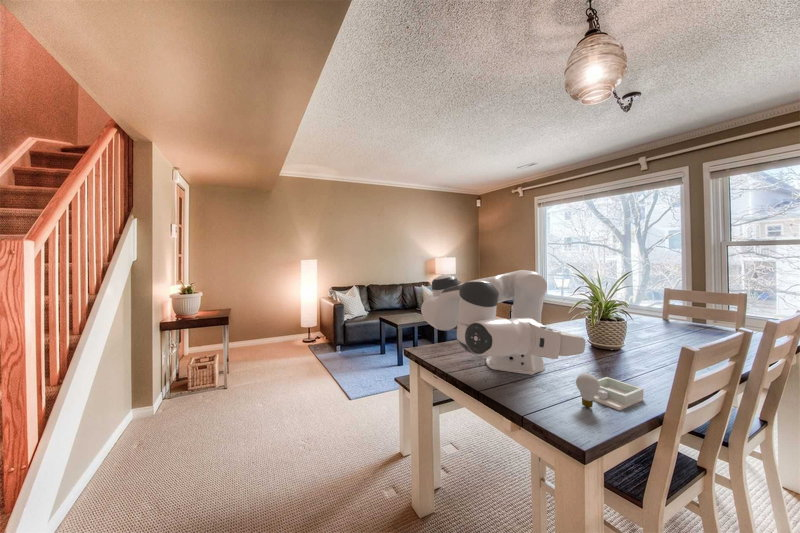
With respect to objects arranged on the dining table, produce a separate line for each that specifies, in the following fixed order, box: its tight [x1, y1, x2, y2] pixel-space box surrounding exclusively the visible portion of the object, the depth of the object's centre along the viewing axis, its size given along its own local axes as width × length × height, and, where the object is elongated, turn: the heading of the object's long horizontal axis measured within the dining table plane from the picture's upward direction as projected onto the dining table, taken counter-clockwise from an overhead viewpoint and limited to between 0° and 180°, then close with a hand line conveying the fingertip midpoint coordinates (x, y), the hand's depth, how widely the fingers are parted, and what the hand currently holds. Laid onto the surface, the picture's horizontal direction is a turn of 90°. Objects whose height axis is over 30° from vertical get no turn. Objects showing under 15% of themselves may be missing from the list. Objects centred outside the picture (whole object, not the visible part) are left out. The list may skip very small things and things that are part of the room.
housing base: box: [593, 376, 645, 411], centre depth 94 cm, size 14×11×4 cm
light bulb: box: [575, 372, 600, 409], centre depth 88 cm, size 6×6×10 cm
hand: (560, 333), depth 81 cm, fingers open, 8 cm apart
